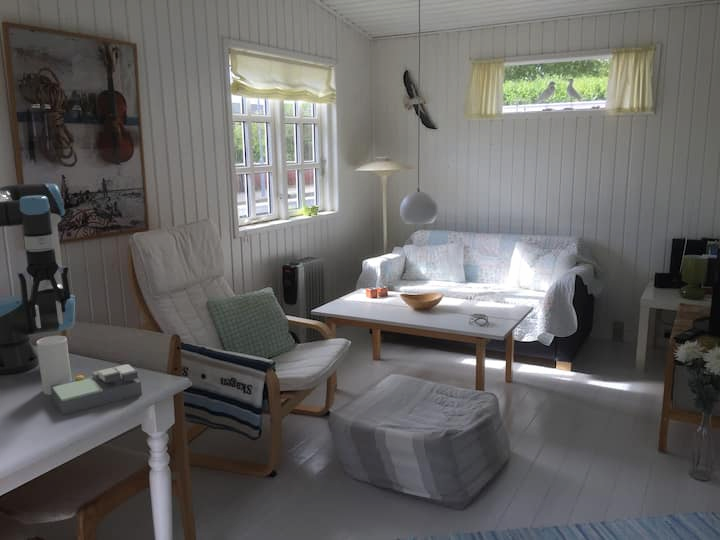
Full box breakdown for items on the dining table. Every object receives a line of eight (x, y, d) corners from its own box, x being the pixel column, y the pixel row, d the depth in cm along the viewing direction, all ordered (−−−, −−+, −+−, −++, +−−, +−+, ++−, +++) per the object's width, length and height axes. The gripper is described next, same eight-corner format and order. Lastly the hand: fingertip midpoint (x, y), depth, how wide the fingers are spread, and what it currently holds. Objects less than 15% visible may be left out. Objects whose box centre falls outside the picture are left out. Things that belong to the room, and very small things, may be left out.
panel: (52, 398, 188) (49, 376, 186) (126, 379, 201) (124, 359, 200) (63, 414, 177) (60, 391, 176) (141, 394, 190) (139, 372, 189)
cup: (61, 395, 190) (54, 345, 186) (37, 393, 191) (30, 343, 188) (78, 384, 198) (72, 336, 194) (55, 383, 199) (48, 334, 196)
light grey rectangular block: (97, 371, 190) (105, 376, 184) (111, 367, 192) (119, 372, 186) (98, 377, 190) (106, 382, 184) (112, 374, 193) (120, 379, 186)
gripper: (6, 255, 176) (18, 334, 181) (76, 247, 187) (85, 321, 192) (2, 251, 182) (13, 328, 187) (70, 243, 193) (78, 316, 198)
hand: (49, 324), depth 190 cm, fingers open, 5 cm apart
